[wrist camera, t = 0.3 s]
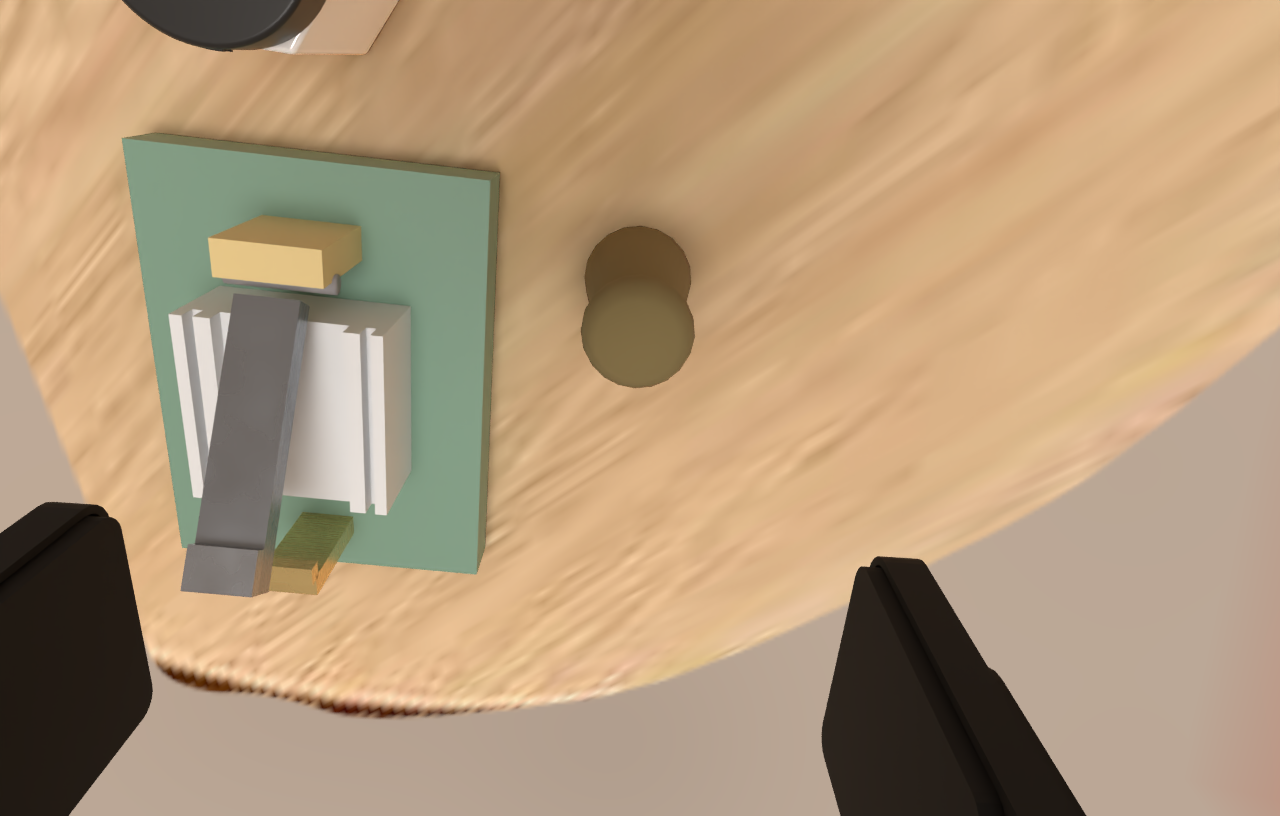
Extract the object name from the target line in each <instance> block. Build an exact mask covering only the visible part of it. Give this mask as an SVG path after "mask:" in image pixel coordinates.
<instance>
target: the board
mask: <svg viewBox="0 0 1280 816" xmlns="http://www.w3.org/2000/svg"><path fill="white" fill-rule="evenodd" d="M122 143H123V150H124V156H125V163H126V170H127V177H128V184H129V190H130V197H131V204H132V211H133V218H134V224H135V231H136V238H137V245H138V252H139V258H140V265H141V272H142V279H143V285H144V292H145V299H146V306H147V313H148V319H149V326H150V333H151V340H152V347H153V353H154V360H155V367H156V374H157V381H158V387H159V394H160V401H161V408H162V415H163V421H164V428H165V435H166V442H167V449H168V455H169V462H170V469H171V476H172V483H173V489H174V496H175V503H176V510H177V516H178V523H179V530H180V537H181V544H182V548H187V547H188V544H193V543H195V539H196V533H197V526H198V520H199V513H200V507H201V500H202V494H203V487H204V481H205V474H206V468H207V462H208V455H209V449H210V442H211V436H212V429H213V423H214V416H215V410H216V403H217V397H218V391H219V384H220V378H221V371H222V365H223V358H224V352H225V345H226V339H227V332H228V326H229V320H230V313H231V307H232V300H233V294H234V293H236V294H245V295H254V296H264V297H273V298H283V299H292V300H301V301H302V302H304V303H305V304H307V305H308V306H310V308H309V315H308V322H307V329H306V336H305V343H304V350H303V357H302V364H301V371H300V377H299V384H298V391H297V398H296V405H295V412H294V419H293V426H292V433H291V440H290V447H289V454H288V461H287V468H286V475H285V482H284V489H283V495H282V502H281V509H280V516H279V523H278V530H277V537H276V544H275V549H276V548H277V546H278V545H279V543H280V542H281V541H282V539H283V538H284V537H285V535H286V534H287V533H288V531H289V530H290V529H291V527H292V526H293V524H294V523H295V522H296V520H297V519H298V518H299V516H300V515H301V514H302V512H309V513H320V514H330V515H341V516H352V517H353V523H354V534H353V536H352V538H351V539H350V541H349V543H348V544H347V546H346V548H345V549H344V551H343V553H342V554H341V556H340V558H339V559H338V561H337V562H346V563H357V564H368V565H379V566H390V567H401V568H412V569H422V570H433V571H444V572H455V573H466V574H477V572H478V568H479V565H480V562H481V559H482V556H483V552H484V549H485V538H486V513H487V487H488V462H489V436H490V411H491V386H492V360H493V335H494V310H495V284H496V259H497V234H498V208H499V183H500V173H499V172H490V171H481V170H473V169H464V168H456V167H447V166H438V165H430V164H421V163H413V162H404V161H395V160H387V159H378V158H369V157H361V156H352V155H344V154H335V153H326V152H318V151H309V150H300V149H292V148H283V147H275V146H266V145H257V144H249V143H240V142H231V141H223V140H214V139H206V138H197V137H188V136H180V135H171V134H162V133H151V134H145V135H139V136H132V137H126V138H122Z"/></svg>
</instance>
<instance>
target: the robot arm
mask: <svg viewBox="0 0 1280 816" xmlns="http://www.w3.org/2000/svg"><path fill="white" fill-rule="evenodd" d="M152 692H153V690H152V682H151V676H150V671H149V666H148V661H147V656H146V651H145V646H144V641H143V636H142V631H141V626H140V620H139V615H138V610H137V605H136V600H135V595H134V590H133V585H132V580H131V575H130V570H129V565H128V560H127V554H126V549H125V544H124V539H123V534H122V529H121V526H120V524H119V522H118V521H117V520H116V519H114V518H112V517H109V516H108V513H107V512H106V511H105V509H104V508H103V507H101V506H98V505H91V504H76V503H61V502H46V503H44V504H42V505H40V506H38V507H36V508H35V509H34V510H32V511H31V512H29V513H28V514H27V515H25V516H24V517H22V518H21V519H20V520H18V521H17V522H15V523H14V524H13V525H11V526H10V527H8V528H7V529H6V530H4V531H3V532H1V533H0V816H69V814H70V813H71V811H72V810H73V809H74V808H75V807H76V805H77V804H78V803H79V801H80V800H81V799H82V797H83V796H84V795H85V793H86V792H87V791H88V789H89V788H90V787H91V785H92V784H93V783H94V782H95V780H96V779H97V778H98V776H99V775H100V774H101V773H102V771H103V770H104V769H105V768H106V766H107V765H108V764H109V762H110V761H111V760H112V758H113V757H114V756H115V755H116V753H117V752H118V750H119V749H120V748H121V747H122V745H123V744H124V743H125V741H126V740H127V739H128V738H129V736H130V735H131V734H132V732H133V731H134V730H135V729H136V727H137V726H138V725H139V723H140V722H141V721H142V719H143V718H144V716H145V715H146V713H147V711H148V708H149V706H150V703H151V699H152ZM822 748H823V754H824V758H825V762H826V766H827V769H828V773H829V776H830V780H831V783H832V787H833V791H834V794H835V798H836V801H837V805H838V808H839V812H840V815H841V816H1086V815H1085V813H1084V811H1083V810H1082V808H1081V806H1080V805H1079V803H1078V802H1077V800H1076V798H1075V797H1074V795H1073V793H1072V792H1071V790H1070V789H1069V787H1068V785H1067V784H1066V782H1065V781H1064V779H1063V777H1062V776H1061V774H1060V772H1059V771H1058V769H1057V768H1056V766H1055V764H1054V763H1053V761H1052V759H1051V758H1050V756H1049V755H1048V753H1047V751H1046V750H1045V748H1044V747H1043V745H1042V743H1041V742H1040V740H1039V738H1038V737H1037V735H1036V733H1035V732H1034V730H1033V729H1032V727H1031V726H1030V724H1029V722H1028V721H1027V719H1026V717H1025V716H1024V714H1023V712H1022V711H1021V709H1020V708H1019V706H1018V704H1017V703H1016V701H1015V700H1014V698H1013V696H1012V695H1011V693H1010V691H1009V690H1008V688H1007V687H1006V685H1005V683H1004V682H1003V680H1002V679H1001V678H1000V676H999V675H998V674H997V673H996V672H995V671H994V670H992V669H990V668H989V667H988V666H987V665H986V663H985V661H984V660H983V658H982V657H981V655H980V653H979V652H978V650H977V648H976V647H975V645H974V643H973V642H972V640H971V638H970V637H969V635H968V633H967V632H966V630H965V628H964V627H963V625H962V623H961V622H960V620H959V619H958V617H957V615H956V614H955V612H954V610H953V609H952V607H951V605H950V604H949V602H948V600H947V599H946V597H945V595H944V594H943V592H942V591H941V589H940V587H939V585H938V584H937V582H936V580H935V579H934V577H933V576H932V574H931V572H930V571H929V569H928V567H927V566H926V564H925V563H924V562H923V561H922V560H920V559H911V558H895V557H880V556H877V557H876V558H874V559H873V561H872V563H871V565H870V567H860V568H859V569H858V571H857V573H856V576H855V581H854V585H853V590H852V594H851V599H850V603H849V608H848V612H847V617H846V621H845V626H844V631H843V635H842V639H841V644H840V649H839V653H838V658H837V662H836V666H835V671H834V676H833V680H832V684H831V689H830V694H829V698H828V702H827V707H826V712H825V716H824V720H823V726H822Z"/></svg>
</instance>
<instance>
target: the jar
mask: <svg viewBox="0 0 1280 816" xmlns="http://www.w3.org/2000/svg"><path fill="white" fill-rule="evenodd" d="M122 1H123V2H124V3H125V4H126V5H127V6H128V7H129V8H130V9H131V10H132V11H133V12H134V13H136V14H137V15H138V16H139V17H140V18H142V19H143V20H144V21H146V22H147V23H148V24H150V25H151V26H152V27H154V28H156V29H157V30H159V31H161V32H162V33H164V34H166V35H168V36H170V37H172V38H174V39H176V40H179V41H182V42H184V43H187V44H190V45H194V46H198V47H202V48H206V49H210V50H215V51H223V52H225V51H230V52H233V50H257V49H262V50H268V51H274V52H280V53H286V54H323V55H364V54H366V53H367V52H368V51H369V49H370V47H371V45H372V44H373V42H374V41H375V39H376V37H377V36H378V34H379V32H380V31H381V29H382V27H383V26H384V24H385V22H386V21H387V19H388V17H389V16H390V14H391V12H392V11H393V9H394V8H395V6H396V4H397V3H398V1H399V0H122Z"/></svg>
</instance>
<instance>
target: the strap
mask: <svg viewBox="0 0 1280 816" xmlns="http://www.w3.org/2000/svg"><path fill="white" fill-rule="evenodd" d="M309 308H310V306H308V305H307V304H305V303H304V302H302V301H301V300H292V299H283V298H273V297H264V296H254V295H245V294H236V293H234V294H233V300H232V307H231V313H230V320H229V326H228V332H227V339H226V345H225V352H224V358H223V365H222V371H221V378H220V384H219V391H218V397H217V403H216V410H215V416H214V423H213V429H212V436H211V442H210V449H209V455H208V462H207V468H206V474H205V481H204V487H203V494H202V500H201V507H200V513H199V520H198V526H197V533H196V539H195V543H193V544H188V547H187V553H186V559H185V566H184V572H183V579H182V585H181V591H186V592H198V593H209V594H220V595H231V596H243V597H254V596H257V595H260V594H263V593H266V592H269V586H270V579H271V572H272V565H273V558H274V551H275V544H276V537H277V530H278V523H279V516H280V509H281V502H282V495H283V489H284V482H285V475H286V468H287V461H288V454H289V447H290V440H291V433H292V426H293V419H294V412H295V405H296V398H297V391H298V384H299V377H300V371H301V364H302V357H303V350H304V343H305V336H306V329H307V322H308V315H309Z"/></svg>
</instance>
